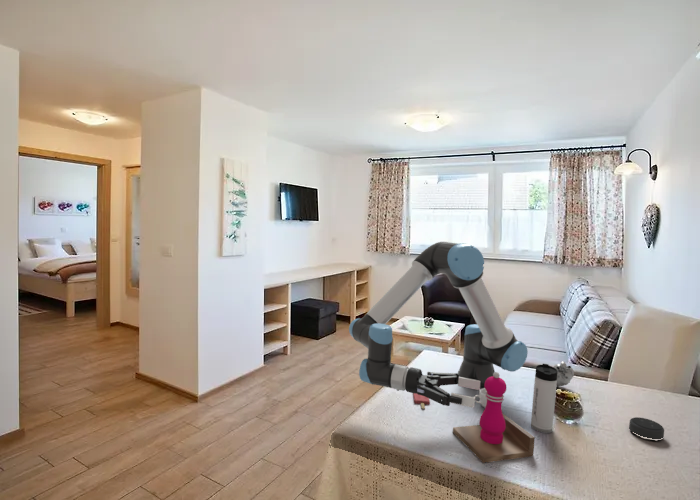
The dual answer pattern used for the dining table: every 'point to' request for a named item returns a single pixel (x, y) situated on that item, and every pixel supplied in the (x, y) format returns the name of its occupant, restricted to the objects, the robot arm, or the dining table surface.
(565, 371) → the grey rounded lump
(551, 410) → the travel mug
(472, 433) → the spice board
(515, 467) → the dining table surface
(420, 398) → the popsicle
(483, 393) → the teacup
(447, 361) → the dining table surface
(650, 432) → the smart speaker
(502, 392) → the pepper mill
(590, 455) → the dining table surface
